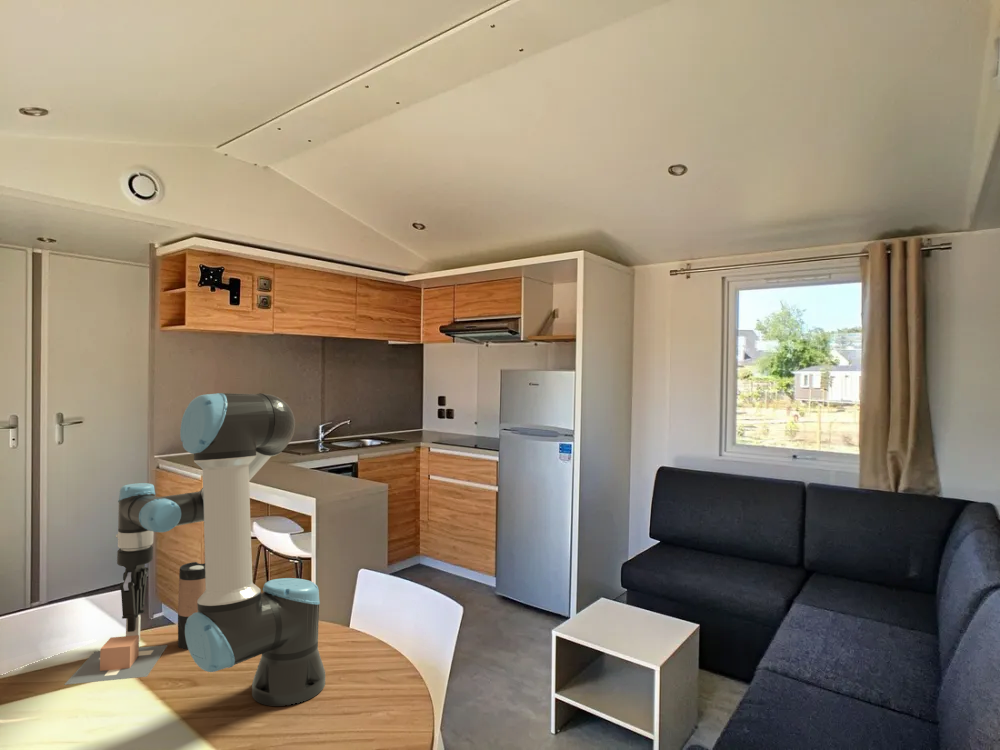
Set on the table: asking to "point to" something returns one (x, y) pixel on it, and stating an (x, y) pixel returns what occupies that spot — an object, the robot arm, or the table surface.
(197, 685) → the table surface
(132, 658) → the terracotta block
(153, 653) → the letter mat
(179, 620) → the travel mug
